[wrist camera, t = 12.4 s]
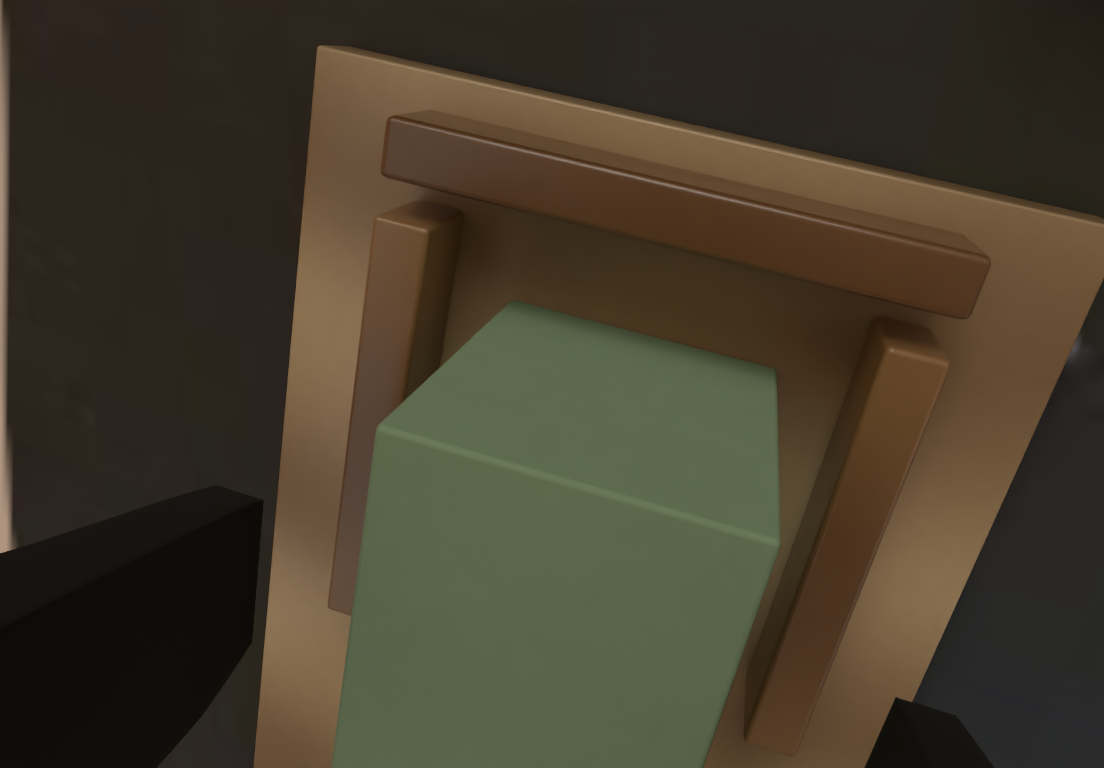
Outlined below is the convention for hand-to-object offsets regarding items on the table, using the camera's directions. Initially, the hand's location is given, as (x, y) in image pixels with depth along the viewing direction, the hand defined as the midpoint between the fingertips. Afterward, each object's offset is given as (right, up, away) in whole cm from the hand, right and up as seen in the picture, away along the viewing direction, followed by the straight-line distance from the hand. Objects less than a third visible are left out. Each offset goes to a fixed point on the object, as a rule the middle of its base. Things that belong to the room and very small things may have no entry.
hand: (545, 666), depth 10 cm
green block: (+1, +2, +4) cm, 4 cm away
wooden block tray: (+1, 0, +6) cm, 6 cm away
